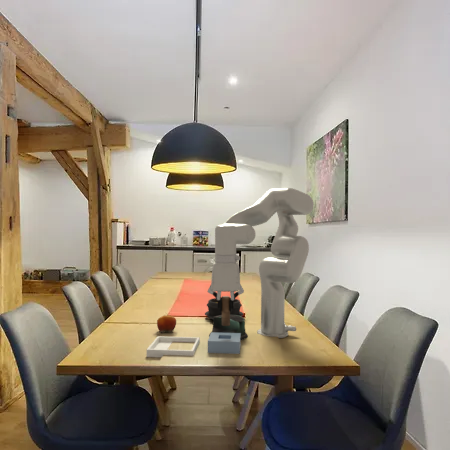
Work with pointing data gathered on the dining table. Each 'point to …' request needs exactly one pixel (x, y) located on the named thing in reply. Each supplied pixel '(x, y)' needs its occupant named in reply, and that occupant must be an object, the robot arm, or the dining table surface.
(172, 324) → the fruit
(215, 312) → the casserole
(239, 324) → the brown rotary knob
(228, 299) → the pin
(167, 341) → the tray
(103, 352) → the dining table surface
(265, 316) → the robot arm
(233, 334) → the holder
